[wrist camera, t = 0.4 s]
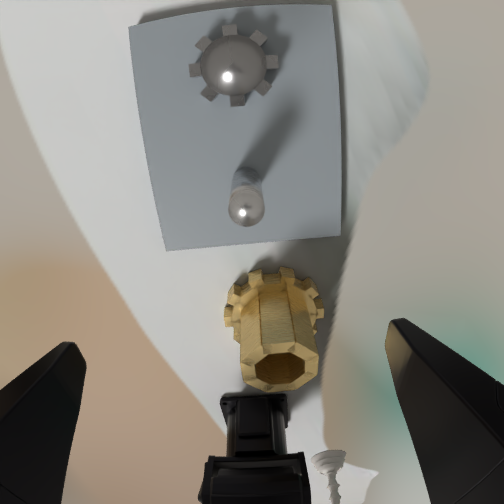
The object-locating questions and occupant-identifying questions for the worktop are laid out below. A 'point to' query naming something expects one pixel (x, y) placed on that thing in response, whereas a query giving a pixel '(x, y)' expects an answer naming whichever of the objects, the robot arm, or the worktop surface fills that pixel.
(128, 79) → the worktop surface
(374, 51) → the worktop surface
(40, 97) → the worktop surface
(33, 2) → the worktop surface
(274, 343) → the planet gear
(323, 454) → the chalice
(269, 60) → the plate
